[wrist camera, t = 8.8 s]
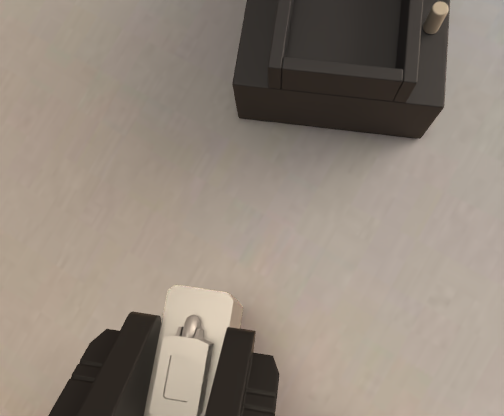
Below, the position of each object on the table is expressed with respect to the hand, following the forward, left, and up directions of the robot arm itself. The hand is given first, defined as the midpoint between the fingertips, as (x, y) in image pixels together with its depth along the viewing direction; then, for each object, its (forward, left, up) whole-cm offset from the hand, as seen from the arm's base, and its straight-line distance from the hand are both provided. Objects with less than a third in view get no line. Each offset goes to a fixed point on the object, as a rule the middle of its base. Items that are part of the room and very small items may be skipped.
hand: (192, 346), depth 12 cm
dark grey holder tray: (+3, +14, -7) cm, 16 cm away
